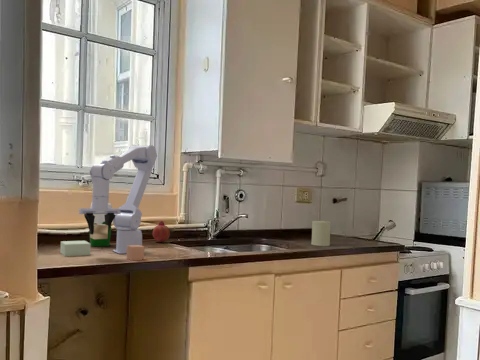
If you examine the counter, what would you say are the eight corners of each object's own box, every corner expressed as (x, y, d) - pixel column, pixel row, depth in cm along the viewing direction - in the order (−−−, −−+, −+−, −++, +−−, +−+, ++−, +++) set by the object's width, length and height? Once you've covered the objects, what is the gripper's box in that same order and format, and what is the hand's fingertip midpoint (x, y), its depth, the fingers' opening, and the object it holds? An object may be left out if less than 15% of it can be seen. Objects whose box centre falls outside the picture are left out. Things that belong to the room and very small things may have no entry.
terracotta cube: (139, 257, 170) (139, 244, 170) (144, 260, 166) (144, 246, 166) (126, 258, 167) (127, 245, 167) (131, 260, 163) (131, 247, 163)
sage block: (84, 252, 179) (85, 240, 179) (90, 255, 171) (90, 243, 171) (60, 253, 174) (60, 241, 175) (64, 256, 167) (65, 244, 167)
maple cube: (103, 237, 171) (103, 224, 171) (107, 238, 167) (108, 225, 167) (90, 237, 168) (90, 224, 168) (94, 239, 164) (94, 225, 164)
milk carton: (108, 243, 202) (110, 198, 202) (111, 246, 194) (113, 199, 194) (87, 244, 199) (89, 197, 199) (90, 247, 190) (92, 198, 191)
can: (326, 246, 223) (327, 221, 223) (308, 244, 227) (309, 220, 227) (332, 244, 231) (333, 220, 231) (315, 243, 235) (315, 219, 235)
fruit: (148, 242, 211) (149, 220, 211) (157, 240, 219) (157, 219, 219) (164, 244, 209) (165, 222, 209) (172, 242, 217) (173, 220, 217)
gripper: (116, 196, 175) (114, 232, 175) (77, 195, 167) (75, 233, 167) (122, 197, 169) (121, 234, 169) (82, 196, 161) (81, 235, 161)
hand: (99, 234), depth 167 cm, fingers closed on maple cube, 5 cm apart
